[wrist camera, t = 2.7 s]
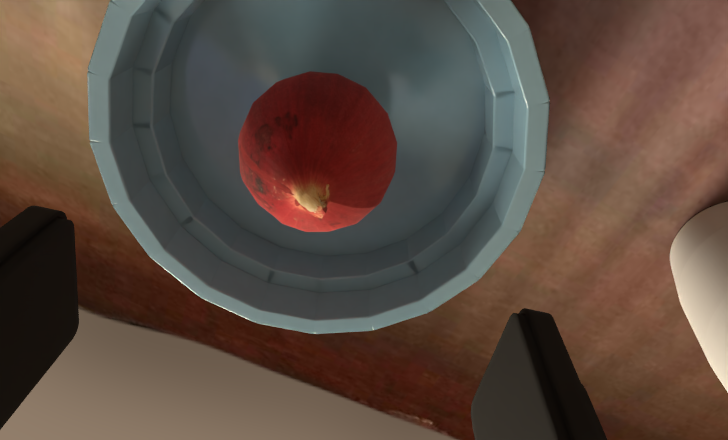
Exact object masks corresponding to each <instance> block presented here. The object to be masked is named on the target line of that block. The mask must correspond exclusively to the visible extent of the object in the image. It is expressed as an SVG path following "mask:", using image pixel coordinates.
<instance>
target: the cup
mask: <svg viewBox="0 0 728 440" xmlns="http://www.w3.org/2000/svg"><path fill="white" fill-rule="evenodd" d="M670 264H671V268H672V272H673V276H674V280H675V284H676V288H677V292H678V296H679V300H680V303H681V306H682V308H683V310H684V312H685V314H686V316H687V318H688V320H689V322H690V325H691V327H692V329H693V331H694V333H695V335H696V337H697V339H698V341H699V343H700V345H701V347H702V349H703V351H704V353H705V356H706V358H707V360H708V362H709V364H710V366H711V367H712V369H713V371H714V372H715V374H716V375H717V377H718V378H719V380H720V381H721V383H722V384H723V386H724V387H725V389H726V390H727V392H728V202H724V203H720V204H717V205H714V206H712V207H709V208H707V209H705V210H703V211H702V212H700V213H698V214H697V215H695V216H694V217H693V218H692V219H690V220H689V221H688V222H687V223H686V224H685V225H684V226H683V227H682V228H681V230H680V231H679V232H678V234H677V235H676V237H675V239H674V241H673V243H672V246H671V250H670Z"/></svg>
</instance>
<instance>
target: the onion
mask: <svg viewBox="0 0 728 440" xmlns="http://www.w3.org/2000/svg"><path fill="white" fill-rule="evenodd" d="M238 148H239V163H240V174H241V177H242V180H243V182H244V183H245V185H246V186H247V188H248V189H249V191H250V192H251V194H252V196H253V197H254V199H255V200H256V202H257V203H258V204H259V205H260V206H261V207H262V208H264V209H265V210H266V211H268V212H269V213H270V214H271V215H273V216H274V217H275V218H276V219H277V220H278V221H280V222H281V223H282V224H284V225H287V226H290V227H293V228H296V229H298V230H301V231H304V232H330V231H333V230H336V229H340V228H343V227H347V226H350V225H354V224H357V223H358V222H359V221H360V220H362V219H363V218H364V217H365V216H366V215H367V214H368V213H370V212H371V211H372V210H373V209H374V208H375V207H376V206H377V205H379V204H380V203H381V201H382V199H383V197H384V195H385V193H386V191H387V189H388V187H389V185H390V182H391V180H392V178H393V176H394V173H395V168H396V153H397V141H396V138H395V135H394V131H393V128H392V125H391V122H390V119H389V116H388V113H387V112H386V111H385V110H384V108H383V107H382V106H381V105H380V104H379V102H378V101H377V100H376V99H375V98H374V97H373V95H372V94H371V93H370V92H369V91H368V89H367V88H366V87H364V86H362V85H360V84H358V83H356V82H354V81H352V80H350V79H348V78H346V77H344V76H342V75H339V74H335V73H323V72H312V71H309V72H306V73H302V74H299V75H296V76H292V77H289V78H286V79H283V80H280V81H278V82H276V83H275V84H274V85H273V86H271V87H270V88H269V89H268V90H267V91H266V92H265V93H263V94H262V95H261V96H260V97H259V98H258V99H257V100H256V101H254V102H253V104H252V106H251V108H250V111H249V113H248V115H247V117H246V120H245V122H244V124H243V126H242V128H241V131H240V134H239V138H238Z"/></svg>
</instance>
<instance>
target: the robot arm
mask: <svg viewBox="0 0 728 440" xmlns="http://www.w3.org/2000/svg"><path fill="white" fill-rule="evenodd" d="M78 315H79V314H78V294H77V274H76V255H75V235H74V224H73V222H72V221H71V220H67V217H66V215H65V213H64V212H62V211H58V210H53V209H49V208H44V207H39V206H30V207H28V208H27V209H25V210H24V211H23V212H21V213H20V214H18V215H17V216H16V217H14V218H13V219H12V220H10V221H9V222H8V223H6V224H5V225H4V226H2V227H1V228H0V429H1V428H2V427H3V425H4V424H5V423H6V422H7V421H8V419H9V418H10V417H11V416H12V414H13V413H14V412H15V411H16V409H17V408H18V407H19V405H20V404H21V403H22V402H23V400H24V399H25V398H26V397H27V395H28V394H29V393H30V391H31V390H32V389H33V388H34V387H35V385H36V384H37V383H38V382H39V380H40V379H41V378H42V377H43V375H44V374H45V373H46V371H47V370H48V369H49V368H50V366H51V365H52V364H53V363H54V362H55V360H56V359H57V358H58V357H59V355H60V354H61V353H62V352H63V350H64V349H65V348H66V346H67V345H68V344H69V343H70V342H71V340H72V339H73V337H74V336H75V334H76V332H77V329H78V324H79V316H78ZM471 418H472V425H473V431H474V437H475V440H607V438H606V436H605V433H604V431H603V429H602V426H601V424H600V422H599V419H598V417H597V415H596V412H595V410H594V408H593V405H592V403H591V401H590V398H589V396H588V394H587V391H586V390H585V388H584V386H583V385H582V384H581V382H580V380H579V378H578V375H577V373H576V371H575V368H574V366H573V364H572V361H571V359H570V356H569V354H568V352H567V349H566V347H565V345H564V342H563V340H562V338H561V335H560V333H559V331H558V328H557V326H556V324H555V321H554V319H553V317H552V315H551V314H549V313H545V312H540V311H535V310H530V309H522V310H521V311H520V312H519V314H517V313H513V314H512V315H511V316H510V318H509V320H508V322H507V325H506V327H505V329H504V331H503V333H502V336H501V338H500V340H499V342H498V345H497V347H496V349H495V351H494V354H493V356H492V358H491V360H490V363H489V365H488V367H487V369H486V372H485V374H484V376H483V378H482V381H481V383H480V385H479V387H478V390H477V392H476V394H475V396H474V399H473V402H472V407H471Z"/></svg>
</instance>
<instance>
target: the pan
mask: <svg viewBox="0 0 728 440" xmlns="http://www.w3.org/2000/svg"><path fill="white" fill-rule="evenodd" d="M88 70H89V71H88V73H87V77H88V110H89V139H90V145H91V147H92V150H93V153H94V156H95V158H96V161H97V164H98V167H99V170H100V172H101V175H102V178H103V181H104V184H105V186H106V189H107V192H108V195H109V197H110V200H111V203H112V204H113V205H112V206H113V207H114V209H115V210H116V211H117V213H118V214H119V216H120V217H121V218H122V220H123V221H124V222H125V224H126V225H127V227H128V228H129V229H130V231H131V232H132V233H133V235H134V236H135V238H136V239H137V240H138V242H139V243H140V244H141V246H142V247H143V248H144V250H145V251H146V253H147V254H148V255H149V257H152V259H153V260H154V261H155V262H157V263H158V264H159V265H160V266H162V267H163V268H164V269H165V270H167V271H168V272H169V273H170V274H172V275H173V276H174V277H175V278H176V279H178V280H179V281H180V282H181V283H183V284H184V285H185V286H186V287H188V288H189V289H190V290H191V291H193V292H194V293H195V294H196V295H198V296H200V297H201V298H202V299H205V300H207V301H209V302H211V303H213V304H215V305H218V306H220V307H222V308H224V309H226V310H229V311H231V312H233V313H235V314H237V315H239V316H242V317H244V318H246V319H248V320H250V321H253V322H256V323H258V324H264V325H269V326H274V327H279V328H285V329H290V330H295V331H301V332H306V333H311V334H314V333H315V334H322V333H339V332H356V331H372V330H376V329H379V328H382V327H385V326H388V325H392V324H395V323H398V322H401V321H404V320H407V319H410V318H413V317H416V316H420V315H423V314H426V313H428V312H431V311H432V310H434V309H435V308H437V307H438V306H440V305H441V304H443V303H445V302H446V301H448V300H449V299H451V298H452V297H454V296H455V295H457V294H458V293H460V292H461V291H463V290H464V289H466V288H467V287H469V286H470V285H472V284H474V283H475V282H477V281H478V280H479V278H481V277H482V276H483V275H484V274H485V273H486V271H487V270H488V269H489V268H490V267H491V265H492V264H493V263H494V262H495V261H496V260H497V258H498V257H499V256H500V255H501V254H502V252H503V251H504V250H505V249H506V248H507V247H508V245H509V244H510V243H511V242H512V241H513V239H514V238H515V237H516V236H517V235H518V234H519V231H521V229H522V226H523V224H524V221H525V219H526V216H527V214H528V212H529V209H530V207H531V204H532V202H533V200H534V197H535V195H536V192H537V190H538V188H539V185H540V183H541V180H542V178H543V176H544V173H545V171H544V170H545V166H546V151H547V136H548V122H549V107H550V102H549V100H550V98H549V95H548V91H547V88H546V84H545V80H544V77H543V73H542V70H541V66H540V62H539V59H538V55H537V52H536V48H535V44H534V41H533V37H532V33H531V30H530V28H529V25H528V24H527V22H526V21H525V19H524V18H523V17H522V15H521V14H520V12H519V11H518V10H517V8H516V7H515V5H514V4H513V2H512V1H511V0H110V2H109V5H108V8H107V11H106V14H105V17H104V20H103V23H102V26H101V29H100V32H99V35H98V38H97V41H96V45H95V48H94V51H93V54H92V57H91V60H90V63H89V66H88ZM309 71H312V72H323V73H335V74H339V75H342V76H344V77H346V78H348V79H350V80H352V81H354V82H356V83H358V84H360V85H362V86H364V87H366V88H367V89H368V91H369V92H370V93H371V94H372V95H373V97H374V98H375V99H376V100H377V101H378V102H379V104H380V105H381V106H382V107H383V108H384V110H385V111H386V112H387V113H388V116H389V119H390V122H391V125H392V128H393V131H394V135H395V138H396V141H397V153H396V168H395V173H394V176H393V178H392V180H391V182H390V185H389V187H388V189H387V191H386V193H385V195H384V197H383V199H382V201H381V203H380V204H379V205H377V206H376V207H375V208H374V209H373V210H372V211H371V212H370V213H368V214H367V215H366V216H365V217H364V218H363V219H362V220H360V221H359V222H358V223H357V224H354V225H350V226H347V227H343V228H340V229H336V230H333V231H330V232H304V231H301V230H298V229H296V228H293V227H290V226H287V225H284V224H282V223H281V222H280V221H278V220H277V219H276V218H275V217H274V216H273V215H271V214H270V213H269V212H268V211H266V210H265V209H264V208H262V207H261V206H260V205H259V204H258V203H257V202H256V200H255V199H254V197H253V196H252V194H251V192H250V191H249V189H248V188H247V186H246V185H245V183H244V182H243V180H242V177H241V174H240V163H239V148H238V138H239V134H240V131H241V128H242V126H243V124H244V122H245V120H246V117H247V115H248V113H249V111H250V108H251V106H252V104H253V102H254V101H256V100H257V99H258V98H259V97H260V96H261V95H262V94H263V93H265V92H266V91H267V90H268V89H269V88H270V87H271V86H273V85H274V84H275V83H276V82H278V81H280V80H283V79H286V78H289V77H292V76H296V75H299V74H302V73H306V72H309Z"/></svg>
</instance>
